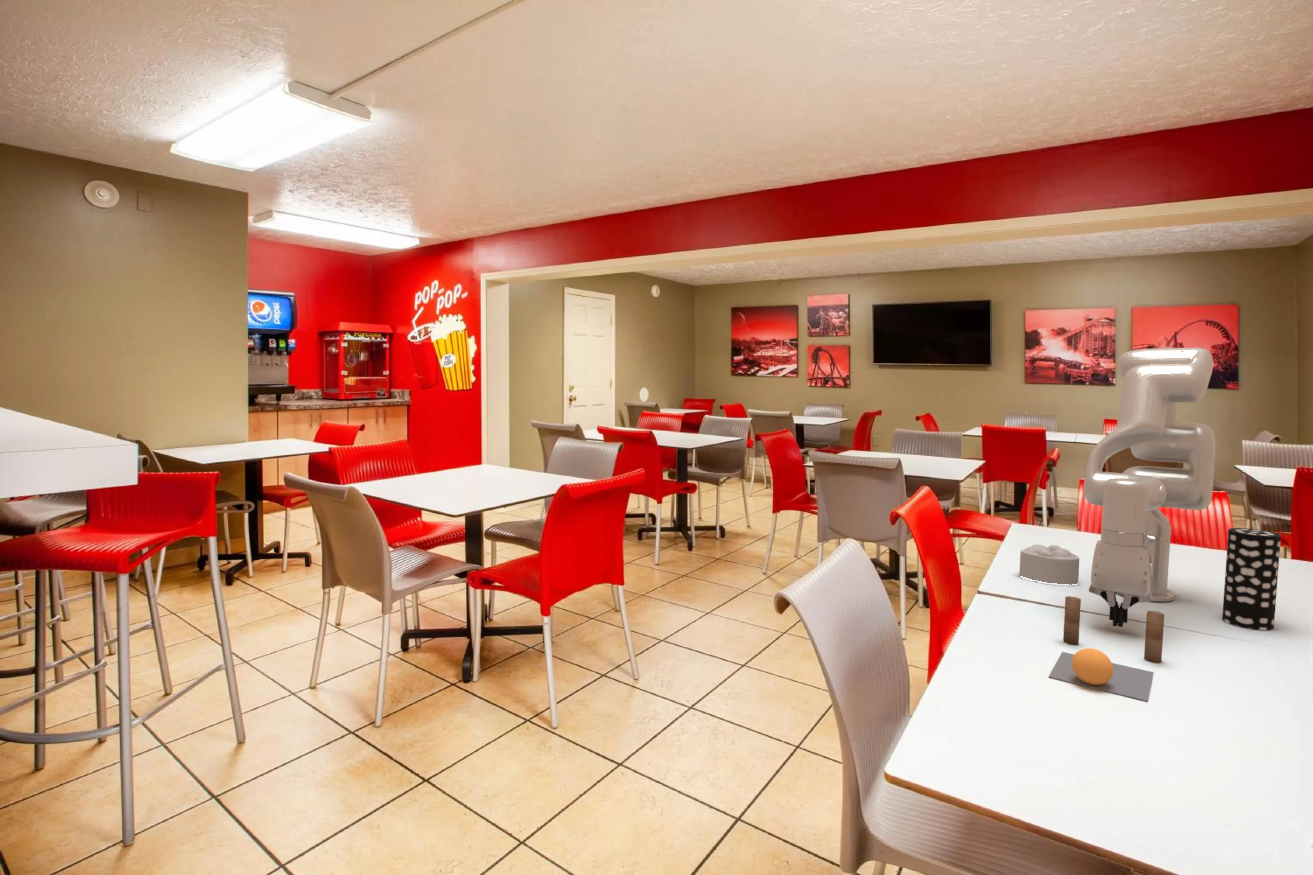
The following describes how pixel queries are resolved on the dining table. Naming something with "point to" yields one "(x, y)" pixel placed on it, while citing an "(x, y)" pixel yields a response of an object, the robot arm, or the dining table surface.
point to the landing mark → (1121, 682)
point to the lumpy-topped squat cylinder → (1049, 564)
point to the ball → (1092, 666)
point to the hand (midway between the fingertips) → (1117, 624)
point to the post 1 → (1072, 620)
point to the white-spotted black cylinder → (1251, 578)
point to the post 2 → (1154, 636)
